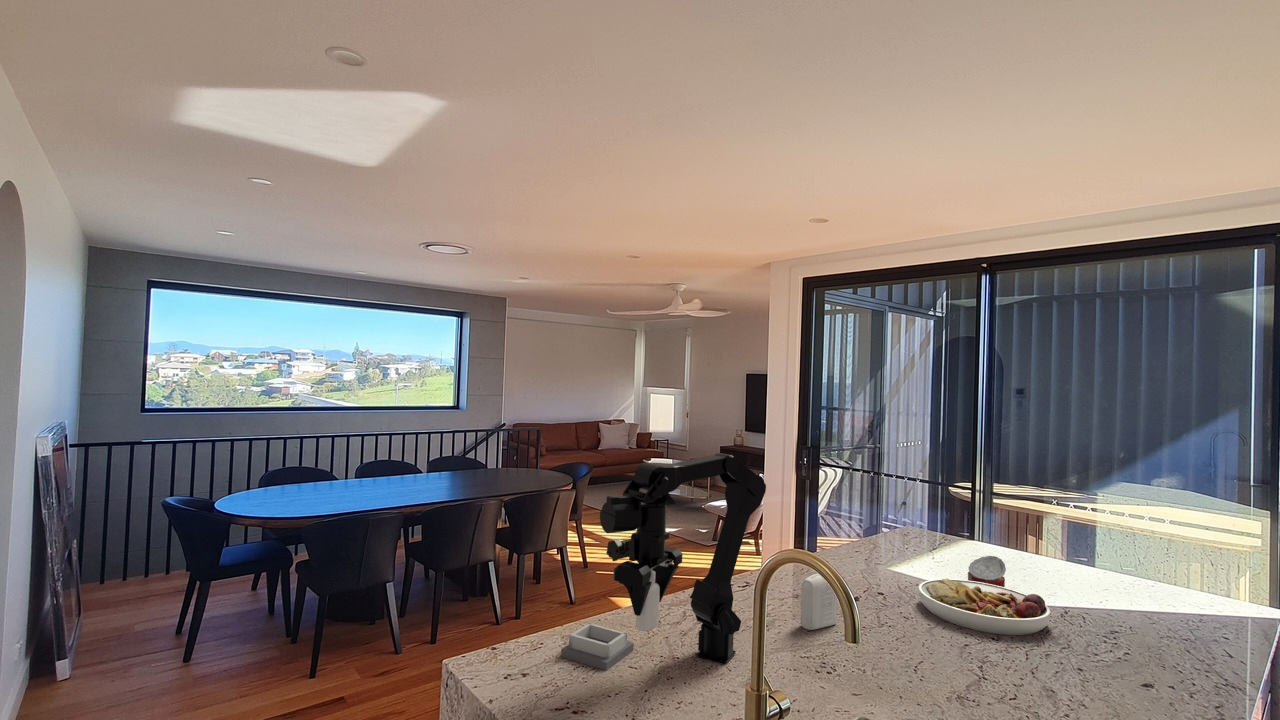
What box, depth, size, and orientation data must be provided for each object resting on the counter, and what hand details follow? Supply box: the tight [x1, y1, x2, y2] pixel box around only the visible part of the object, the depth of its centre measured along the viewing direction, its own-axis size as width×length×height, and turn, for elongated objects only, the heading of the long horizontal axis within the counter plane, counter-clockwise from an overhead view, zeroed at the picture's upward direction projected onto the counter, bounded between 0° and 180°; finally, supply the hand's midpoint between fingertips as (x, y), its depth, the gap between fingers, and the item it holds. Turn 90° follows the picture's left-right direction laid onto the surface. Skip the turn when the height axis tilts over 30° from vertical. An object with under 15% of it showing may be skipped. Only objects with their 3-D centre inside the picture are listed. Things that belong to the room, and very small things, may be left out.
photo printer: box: [800, 573, 839, 631], centre depth 148 cm, size 10×4×12 cm, turn 123°
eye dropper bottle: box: [635, 569, 660, 632], centre depth 119 cm, size 4×6×12 cm
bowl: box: [917, 578, 1051, 636], centre depth 159 cm, size 30×30×8 cm
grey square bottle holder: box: [560, 622, 635, 671], centre depth 127 cm, size 11×11×4 cm
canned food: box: [967, 555, 1007, 588], centre depth 185 cm, size 11×10×10 cm
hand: (648, 608), depth 119 cm, fingers closed on eye dropper bottle, 8 cm apart
